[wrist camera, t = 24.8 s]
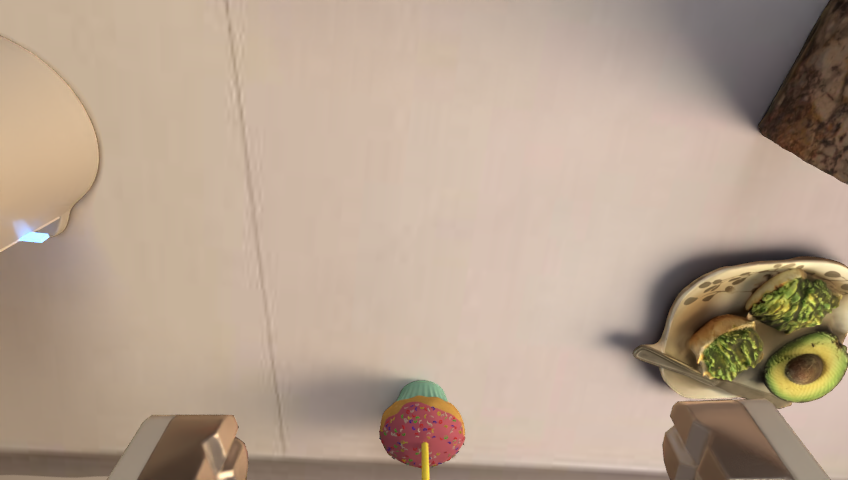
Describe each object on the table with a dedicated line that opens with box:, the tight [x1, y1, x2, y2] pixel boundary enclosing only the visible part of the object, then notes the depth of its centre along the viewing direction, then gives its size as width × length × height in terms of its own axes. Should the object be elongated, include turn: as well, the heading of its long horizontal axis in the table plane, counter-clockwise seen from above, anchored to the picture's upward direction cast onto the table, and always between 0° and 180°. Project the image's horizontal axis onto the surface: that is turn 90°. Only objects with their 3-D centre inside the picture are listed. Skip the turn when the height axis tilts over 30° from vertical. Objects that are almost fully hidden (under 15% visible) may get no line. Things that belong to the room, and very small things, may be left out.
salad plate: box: [633, 256, 848, 409], centre depth 46 cm, size 19×18×5 cm
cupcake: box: [379, 381, 465, 480], centre depth 48 cm, size 9×8×12 cm
